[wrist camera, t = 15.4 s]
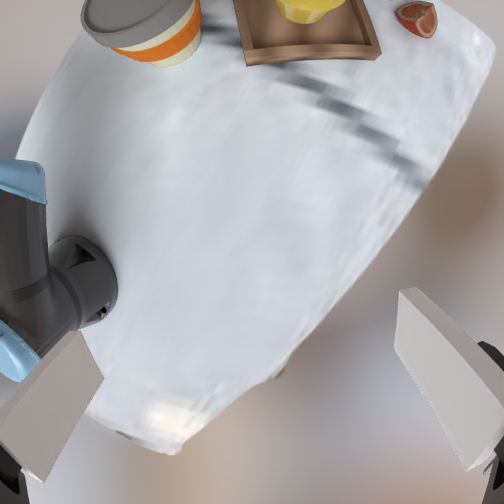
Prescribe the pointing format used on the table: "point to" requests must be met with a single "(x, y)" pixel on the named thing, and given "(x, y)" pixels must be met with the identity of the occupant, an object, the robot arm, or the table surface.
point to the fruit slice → (419, 18)
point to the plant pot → (306, 9)
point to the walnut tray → (305, 34)
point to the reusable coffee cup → (145, 28)
